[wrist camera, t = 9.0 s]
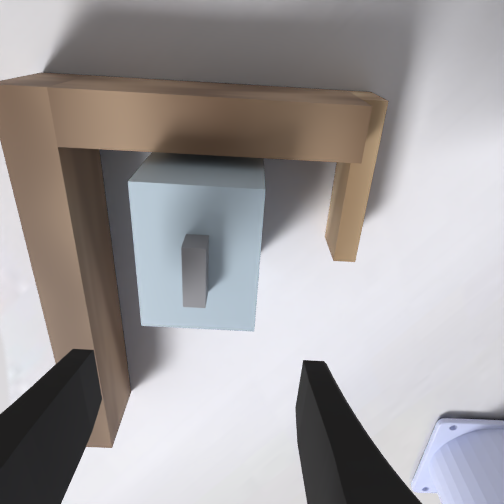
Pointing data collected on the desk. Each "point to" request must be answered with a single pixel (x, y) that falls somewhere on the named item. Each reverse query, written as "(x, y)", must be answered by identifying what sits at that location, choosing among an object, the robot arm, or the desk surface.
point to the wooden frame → (163, 141)
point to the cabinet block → (197, 239)
